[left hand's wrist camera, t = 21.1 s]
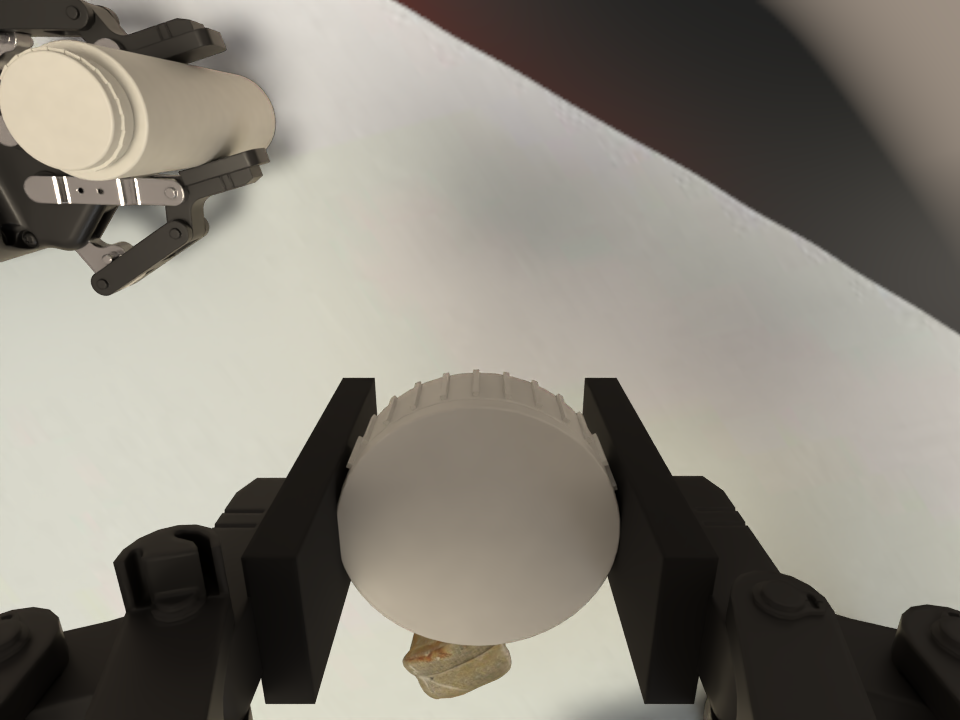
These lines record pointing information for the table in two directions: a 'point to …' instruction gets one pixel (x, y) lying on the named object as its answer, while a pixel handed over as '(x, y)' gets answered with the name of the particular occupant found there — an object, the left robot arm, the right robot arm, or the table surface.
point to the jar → (127, 111)
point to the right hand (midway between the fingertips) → (238, 98)
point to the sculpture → (454, 666)
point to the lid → (478, 510)
